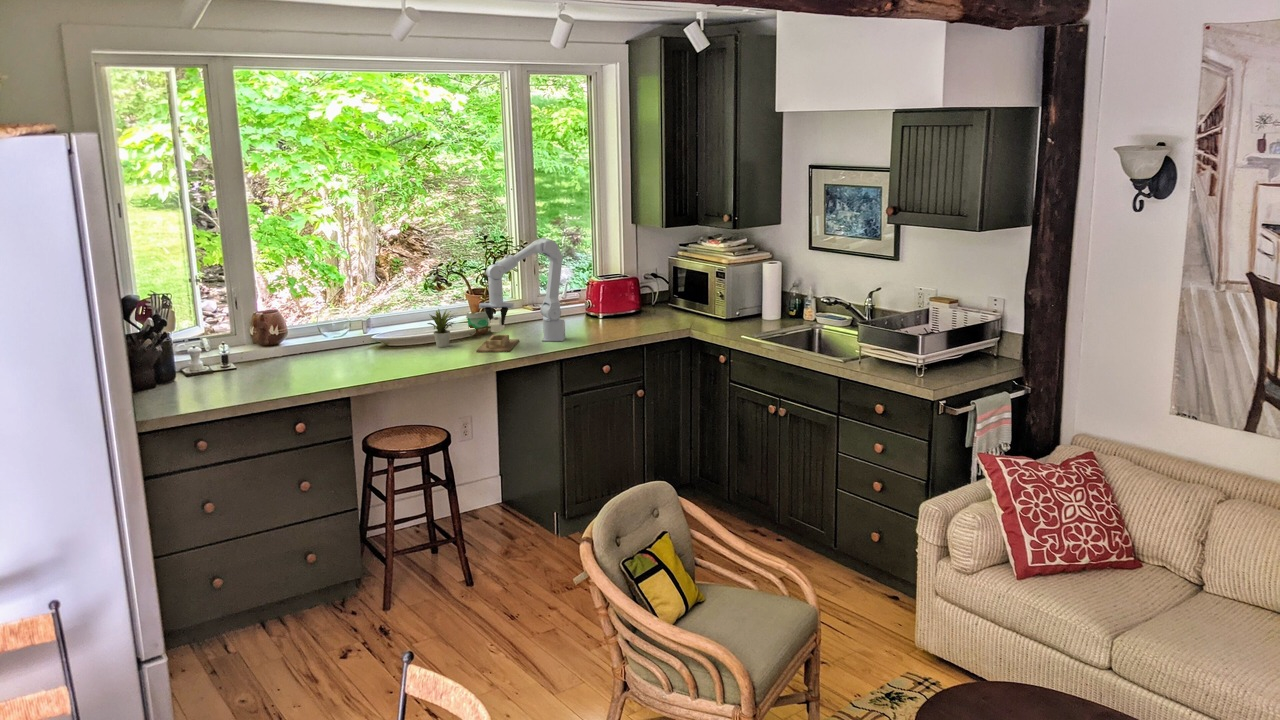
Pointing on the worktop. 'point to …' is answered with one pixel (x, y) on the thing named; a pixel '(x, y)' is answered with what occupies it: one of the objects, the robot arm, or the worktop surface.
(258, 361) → the worktop surface
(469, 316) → the food container
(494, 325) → the servo block
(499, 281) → the robot arm
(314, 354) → the worktop surface
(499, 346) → the chassis board
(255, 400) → the worktop surface
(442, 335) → the house plant
